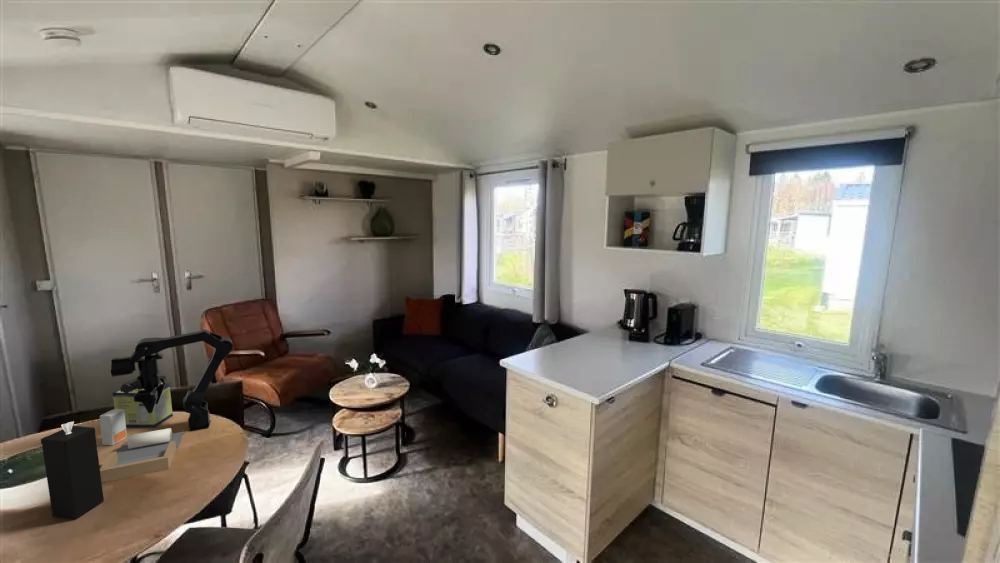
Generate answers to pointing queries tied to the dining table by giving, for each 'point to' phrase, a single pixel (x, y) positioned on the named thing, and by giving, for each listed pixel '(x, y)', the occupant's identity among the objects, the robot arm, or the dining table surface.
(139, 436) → the paper roll
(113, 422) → the skincare box
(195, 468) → the dining table surface
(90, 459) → the tissue box
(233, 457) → the dining table surface
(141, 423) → the protein box
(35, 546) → the dining table surface
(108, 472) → the holder
